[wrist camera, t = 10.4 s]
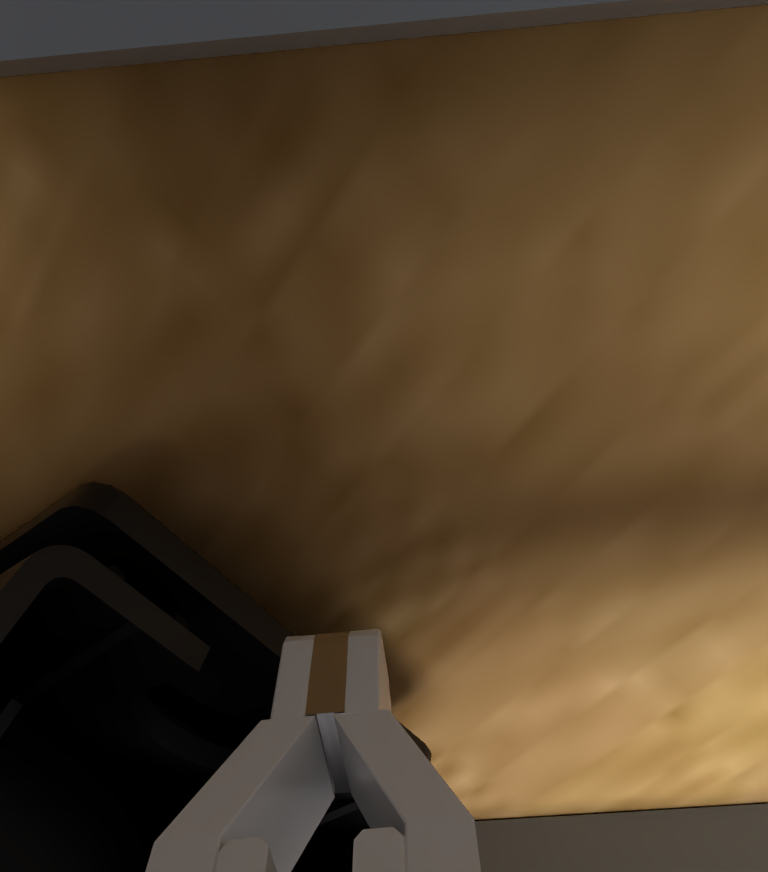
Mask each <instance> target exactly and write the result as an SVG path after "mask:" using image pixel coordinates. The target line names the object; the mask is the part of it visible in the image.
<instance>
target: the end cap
mask: <svg viewBox="0 0 768 872" xmlns="http://www.w3.org/2000/svg"><path fill="white" fill-rule="evenodd" d="M289 636H296V635H295V634H293V633H292V632H291V631H290V630H289V629H287V628H286V627H285V626H284V625H283V624H281V623H280V622H279V621H278V620H277V619H275V618H274V617H273V616H272V615H271V614H269V613H268V612H267V611H266V610H265V609H264V608H262V607H261V606H260V605H259V604H258V603H256V602H255V601H254V600H253V599H252V598H250V597H249V596H248V595H247V594H246V593H244V592H243V591H242V590H241V589H240V588H238V587H237V586H236V585H235V584H234V583H232V582H231V581H230V580H229V579H228V578H226V577H225V576H224V575H223V574H222V573H220V572H219V571H218V570H217V569H216V568H214V567H213V566H212V565H211V564H210V563H208V562H207V561H206V560H205V559H204V558H203V557H201V556H200V555H199V554H198V553H197V552H195V551H194V550H193V549H192V548H191V547H189V546H188V545H187V544H186V543H185V542H183V541H182V540H181V539H180V538H179V537H177V536H176V535H175V534H174V533H173V532H171V531H170V530H169V529H168V528H167V527H165V526H164V525H163V524H162V523H161V522H159V521H158V520H157V519H156V518H155V517H153V516H152V515H151V514H150V513H149V512H147V511H146V510H145V509H144V508H143V507H142V506H140V505H139V504H138V503H137V502H136V501H134V500H133V499H132V498H131V497H130V496H128V495H127V494H125V493H124V492H122V491H120V490H119V489H117V488H115V487H113V486H112V485H108V484H103V483H99V482H90V483H86V484H83V485H80V486H79V487H77V488H76V489H74V490H73V491H72V492H70V493H69V494H67V495H66V496H64V497H63V498H62V499H60V500H59V501H57V502H56V503H54V504H53V505H52V506H50V507H49V508H47V509H46V510H44V511H43V512H42V513H40V514H39V515H37V516H36V517H35V518H33V519H32V520H30V521H29V522H27V523H26V524H25V525H23V526H22V527H20V528H19V529H17V530H16V531H15V532H13V533H12V534H10V535H9V536H7V537H6V538H5V539H3V540H2V541H0V872H145V871H146V868H147V864H148V861H149V858H150V854H151V851H152V848H153V844H154V842H155V841H156V840H157V838H158V837H159V836H160V835H161V834H162V833H163V832H164V830H165V829H166V828H167V827H168V826H169V825H170V824H171V822H172V821H173V820H174V819H175V818H176V817H177V816H178V814H179V813H180V812H181V811H182V810H183V809H184V808H185V806H186V805H187V804H188V803H189V802H190V801H191V800H192V798H193V797H194V796H195V795H196V794H197V793H198V792H199V790H200V789H201V788H202V787H203V786H204V785H205V784H206V783H207V781H208V780H209V779H210V778H211V777H212V776H213V775H214V773H215V772H216V771H217V770H218V769H219V768H220V767H221V765H222V764H223V763H224V762H225V761H226V760H227V759H228V757H229V756H230V755H231V754H232V753H233V752H234V751H235V749H236V748H237V747H238V746H239V745H240V744H241V743H242V741H243V740H244V739H245V738H246V737H247V736H248V735H249V733H250V732H251V731H252V730H253V729H254V728H255V727H256V725H257V724H258V723H259V722H260V721H261V720H268V719H270V717H271V711H272V705H273V699H274V693H275V687H276V681H277V676H278V670H279V664H280V658H281V652H282V646H283V643H284V641H285V639H286V637H289ZM398 722H399V721H398ZM399 723H400V722H399ZM400 724H401V723H400ZM401 726H402V727H403V728H404V729H405V731H406V732H407V733H408V735H409V736H410V737H411V738H412V740H413V741H414V742H415V744H416V745H417V746H418V747H419V749H420V750H421V751H422V752H423V754H424V755H425V756H426V758H427V759H428V760H429V761H430V760H431V752H430V750H429V748H428V747H427V746H426V744H425V743H424V742H423V741H421V740H420V739H419V738H418V737H417V736H415V735H414V734H413V733H412V732H411V731H409V730H408V729H407V728H406V727H405V726H403V725H402V724H401ZM334 796H335V797H334V799H333V801H332V803H331V804H330V806H329V808H328V809H327V811H326V813H325V815H324V816H323V818H322V820H321V821H320V823H319V825H318V827H317V828H316V830H315V832H314V833H313V835H312V837H311V839H310V840H309V842H308V844H307V845H306V847H305V849H304V850H303V852H302V854H301V856H300V857H299V859H298V861H297V862H296V864H295V866H294V868H293V869H292V871H291V872H352V867H353V846H354V839H355V838H356V837H357V836H358V834H359V833H360V832H361V831H362V830H363V829H371V828H370V827H369V825H368V823H367V821H366V820H365V818H364V816H363V814H362V812H361V811H360V809H359V807H358V805H357V804H356V802H355V800H354V798H353V796H352V794H351V792H344V793H334Z"/></svg>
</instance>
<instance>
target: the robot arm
mask: <svg viewBox="0 0 768 872" xmlns="http://www.w3.org/2000/svg"><path fill="white" fill-rule="evenodd" d="M344 792H351V794H352V796H353V798H354V800H355V802H356V804H357V805H358V807H359V809H360V811H361V812H362V814H363V816H364V818H365V820H366V821H367V823H368V825H369V827H370V828H371V829H363V830H362V831H361V832H360V833H359V834H358V836H357V837H356V838H355V839H354V846H353V867H352V872H481V867H480V859H479V851H478V844H477V836H476V829H475V821H474V818H473V817H472V815H471V814H470V813H469V811H468V810H467V809H466V808H465V806H464V805H463V804H462V802H461V801H460V800H459V799H458V797H457V796H456V795H455V793H454V792H453V791H452V790H451V788H450V787H449V786H448V785H447V783H446V782H445V781H444V779H443V778H442V777H441V776H440V774H439V773H438V772H437V770H436V769H435V768H434V767H433V765H432V764H431V763H430V761H429V760H428V759H427V758H426V756H425V755H424V754H423V752H422V751H421V750H420V749H419V747H418V746H417V745H416V744H415V742H414V741H413V740H412V738H411V737H410V736H409V735H408V733H407V732H406V731H405V729H404V728H403V727H402V726H401V724H400V723H399V722H398V720H397V719H396V718H395V717H394V715H393V714H392V709H391V698H390V688H389V678H388V672H387V665H386V659H385V652H384V646H383V639H382V634H381V630H380V629H378V628H377V629H368V630H358V631H349V632H340V633H325V634H317V635H305V636H289V637H286V639H285V641H284V643H283V646H282V652H281V658H280V664H279V670H278V676H277V681H276V687H275V693H274V699H273V705H272V711H271V717H270V719H268V720H261V721H260V722H259V723H258V724H257V725H256V727H255V728H254V729H253V730H252V731H251V732H250V733H249V735H248V736H247V737H246V738H245V739H244V740H243V741H242V743H241V744H240V745H239V746H238V747H237V748H236V749H235V751H234V752H233V753H232V754H231V755H230V756H229V757H228V759H227V760H226V761H225V762H224V763H223V764H222V765H221V767H220V768H219V769H218V770H217V771H216V772H215V773H214V775H213V776H212V777H211V778H210V779H209V780H208V781H207V783H206V784H205V785H204V786H203V787H202V788H201V789H200V790H199V792H198V793H197V794H196V795H195V796H194V797H193V798H192V800H191V801H190V802H189V803H188V804H187V805H186V806H185V808H184V809H183V810H182V811H181V812H180V813H179V814H178V816H177V817H176V818H175V819H174V820H173V821H172V822H171V824H170V825H169V826H168V827H167V828H166V829H165V830H164V832H163V833H162V834H161V835H160V836H159V837H158V838H157V840H156V841H155V842H154V844H153V848H152V851H151V854H150V858H149V861H148V864H147V868H146V871H145V872H291V871H292V869H293V868H294V866H295V864H296V862H297V861H298V859H299V857H300V856H301V854H302V852H303V850H304V849H305V847H306V845H307V844H308V842H309V840H310V839H311V837H312V835H313V833H314V832H315V830H316V828H317V827H318V825H319V823H320V821H321V820H322V818H323V816H324V815H325V813H326V811H327V809H328V808H329V806H330V804H331V803H332V801H333V799H334V797H335V796H334V793H344Z"/></svg>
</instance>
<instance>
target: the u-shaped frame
mask: <svg viewBox="0 0 768 872" xmlns="http://www.w3.org/2000/svg"><path fill="white" fill-rule="evenodd" d="M765 4H768V0H0V77H10V76H20V75H31V74H41V73H52V72H62V71H73V70H83V69H94V68H104V67H115V66H125V65H136V64H146V63H157V62H167V61H178V60H188V59H198V58H209V57H219V56H230V55H240V54H251V53H261V52H272V51H282V50H293V49H303V48H314V47H324V46H335V45H345V44H356V43H366V42H377V41H387V40H398V39H408V38H419V37H429V36H440V35H450V34H461V33H471V32H482V31H492V30H503V29H513V28H524V27H534V26H545V25H555V24H565V23H576V22H586V21H597V20H607V19H618V18H628V17H639V16H649V15H660V14H670V13H681V12H691V11H702V10H712V9H723V8H733V7H744V6H754V5H765ZM475 829H476V836H477V844H478V851H479V859H480V867H481V872H768V804H752V805H736V806H719V807H703V808H687V809H670V810H654V811H637V812H621V813H604V814H588V815H572V816H555V817H539V818H522V819H506V820H490V821H475Z"/></svg>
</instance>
